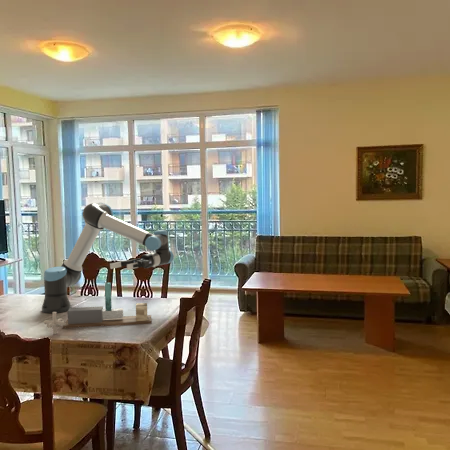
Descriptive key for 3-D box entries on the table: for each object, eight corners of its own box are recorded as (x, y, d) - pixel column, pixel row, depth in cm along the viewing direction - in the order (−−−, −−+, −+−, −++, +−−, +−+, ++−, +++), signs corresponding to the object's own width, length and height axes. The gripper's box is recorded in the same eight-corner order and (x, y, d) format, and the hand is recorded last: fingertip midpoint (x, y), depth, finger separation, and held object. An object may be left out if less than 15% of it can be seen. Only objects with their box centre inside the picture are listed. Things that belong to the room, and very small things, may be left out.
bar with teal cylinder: (74, 318, 227) (72, 283, 225) (123, 316, 231) (122, 281, 229) (72, 320, 223) (71, 285, 221) (122, 318, 227) (122, 283, 226)
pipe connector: (58, 337, 204) (58, 315, 203) (38, 336, 206) (38, 314, 205) (70, 331, 214) (70, 310, 213) (51, 329, 216) (50, 309, 215)
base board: (67, 321, 230) (67, 319, 230) (151, 317, 237) (151, 314, 237) (62, 328, 218) (62, 325, 218) (151, 323, 225) (151, 321, 225)
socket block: (136, 316, 234) (136, 303, 234) (147, 315, 235) (147, 302, 235) (136, 321, 225) (135, 307, 225) (147, 320, 226) (147, 307, 226)
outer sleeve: (70, 320, 227) (69, 307, 227) (103, 318, 230) (102, 306, 230) (68, 324, 221) (67, 311, 221) (102, 322, 224) (101, 309, 223)
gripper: (166, 267, 242) (135, 275, 226) (135, 266, 258) (104, 273, 241) (165, 253, 242) (134, 260, 225) (134, 253, 257) (103, 259, 241)
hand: (118, 266), depth 233 cm, fingers open, 13 cm apart
